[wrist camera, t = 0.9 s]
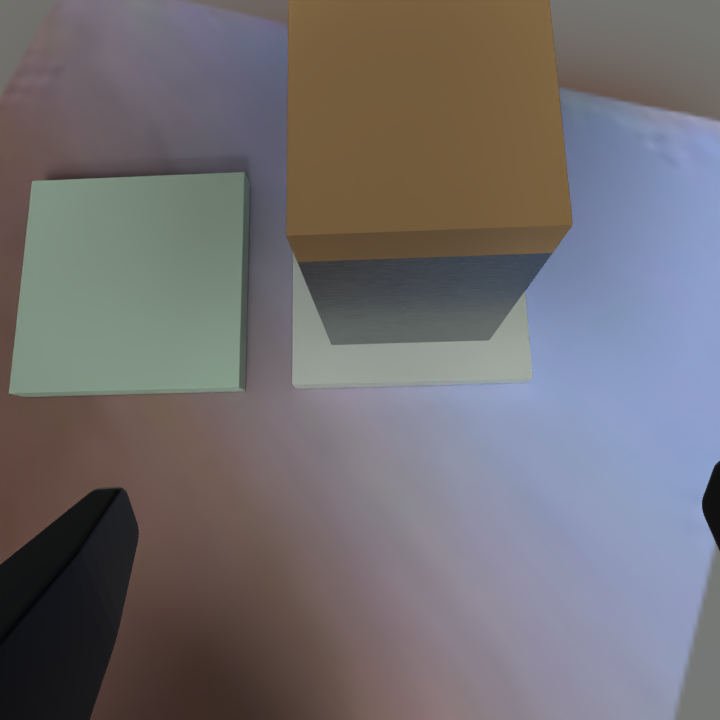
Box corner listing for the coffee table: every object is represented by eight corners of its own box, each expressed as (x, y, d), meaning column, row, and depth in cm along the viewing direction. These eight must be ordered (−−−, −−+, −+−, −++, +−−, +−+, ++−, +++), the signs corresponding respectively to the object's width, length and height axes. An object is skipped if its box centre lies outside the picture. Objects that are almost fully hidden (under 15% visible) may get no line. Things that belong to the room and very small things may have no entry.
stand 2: (526, 382, 22) (532, 378, 21) (296, 388, 23) (292, 384, 22) (509, 172, 24) (514, 159, 23) (297, 181, 25) (293, 169, 24)
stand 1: (245, 391, 23) (238, 387, 22) (24, 396, 23) (8, 393, 22) (250, 184, 25) (244, 171, 24) (45, 192, 25) (32, 181, 24)
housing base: (489, 340, 22) (552, 253, 13) (331, 345, 22) (297, 262, 14) (479, 194, 23) (531, 32, 15) (330, 201, 23) (298, 44, 15)
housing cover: (535, 276, 15) (572, 224, 12) (306, 284, 15) (286, 235, 12) (517, 75, 16) (547, -18, 13) (306, 86, 16) (288, -4, 13)
